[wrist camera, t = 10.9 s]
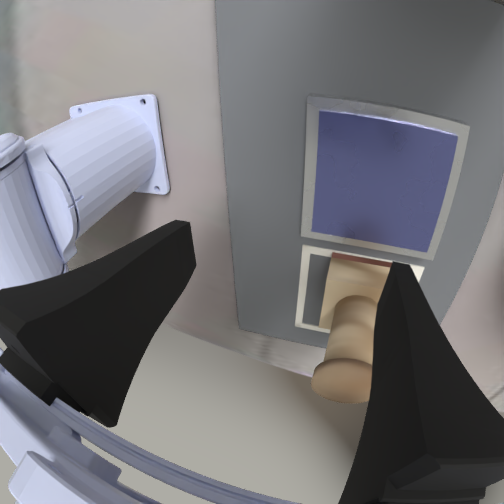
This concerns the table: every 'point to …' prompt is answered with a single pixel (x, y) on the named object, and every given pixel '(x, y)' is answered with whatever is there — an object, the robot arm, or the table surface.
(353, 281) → the stamp
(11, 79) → the table surface
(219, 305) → the table surface
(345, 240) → the ink pad
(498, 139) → the desk mat
